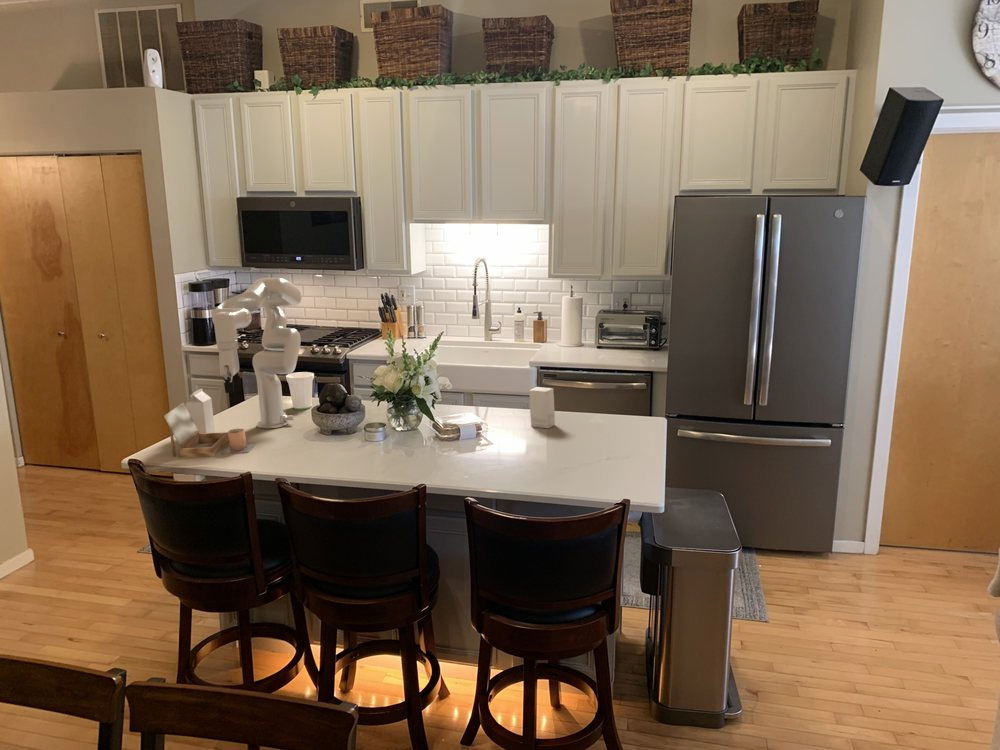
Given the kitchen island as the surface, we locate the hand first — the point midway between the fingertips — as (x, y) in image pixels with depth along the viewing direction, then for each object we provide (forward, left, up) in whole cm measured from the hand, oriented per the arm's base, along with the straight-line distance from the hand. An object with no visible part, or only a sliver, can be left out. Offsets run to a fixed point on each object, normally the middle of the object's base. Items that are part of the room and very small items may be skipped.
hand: (233, 388), depth 287 cm
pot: (-1, +6, -22) cm, 23 cm away
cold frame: (+14, +3, -22) cm, 26 cm away
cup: (-14, -56, -23) cm, 62 cm away
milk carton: (+19, -15, -23) cm, 33 cm away
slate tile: (-1, +6, -22) cm, 23 cm away
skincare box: (-119, -10, -23) cm, 122 cm away
